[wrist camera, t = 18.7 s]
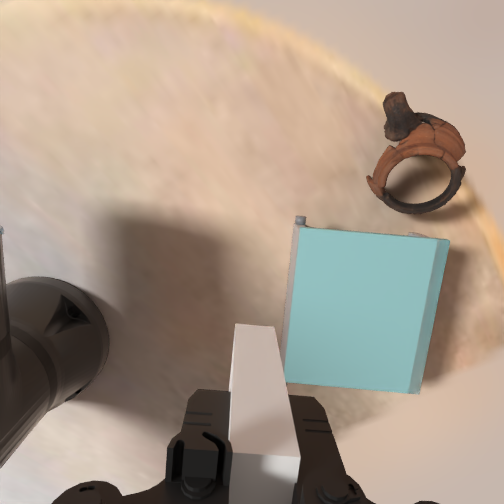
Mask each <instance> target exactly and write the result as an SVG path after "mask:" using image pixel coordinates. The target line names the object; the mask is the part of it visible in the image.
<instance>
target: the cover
mask: <svg viewBox="0 0 504 504" xmlns="http://www.w3.org/2000/svg"><path fill="white" fill-rule="evenodd" d="M449 244H450V240H447V239H439V238H427V237H416V236H404V235H392V234H381V233H369V232H357V231H346V230H334V229H322V228H311V227H300V230H299V239H298V248H297V257H296V266H295V275H294V284H293V293H292V302H291V311H290V320H289V329H288V338H287V347H286V356H285V365H284V377H285V382H289V383H300V384H311V385H321V386H332V387H343V388H354V389H365V390H376V391H387V392H398V393H409V394H419V393H420V388H421V383H422V378H423V373H424V368H425V363H426V358H427V353H428V348H429V343H430V339H431V334H432V329H433V324H434V319H435V314H436V309H437V304H438V299H439V294H440V289H441V284H442V279H443V274H444V269H445V264H446V259H447V254H448V249H449Z"/></svg>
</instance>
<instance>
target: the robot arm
mask: <svg viewBox="0 0 504 504" xmlns="http://www.w3.org/2000/svg"><path fill="white" fill-rule="evenodd" d="M2 234H4V230H3V227H1V226H0V468H1V467H2V466H3V465H4V464H5V462H6V461H7V460H8V459H9V457H10V456H11V455H12V454H13V453H14V451H15V450H16V449H17V448H18V446H19V445H20V444H21V443H22V442H23V440H24V439H25V438H26V437H27V435H28V434H29V433H30V432H31V431H32V429H33V428H34V427H35V426H36V425H37V423H38V422H39V421H40V420H41V419H42V417H43V416H44V415H45V414H46V413H47V412H48V411H50V410H52V409H54V408H56V407H58V406H59V405H61V404H63V403H64V402H66V401H68V400H70V399H72V398H74V397H76V396H77V395H79V394H80V393H82V392H83V391H84V390H85V389H86V388H87V387H88V386H89V385H90V384H91V383H92V382H93V380H94V379H95V378H96V376H97V375H98V374H99V372H100V371H101V369H102V368H103V366H104V364H105V361H106V359H107V355H108V350H109V335H108V330H107V326H106V323H105V321H104V318H103V316H102V314H101V313H100V311H99V309H98V308H97V307H96V305H95V304H94V303H93V302H92V301H91V300H90V299H89V298H88V297H87V296H86V295H85V294H84V293H83V292H81V291H80V290H79V289H77V288H75V287H74V286H72V285H70V284H68V283H66V282H63V281H60V280H57V279H53V278H48V277H26V278H22V279H18V280H15V281H12V282H10V283H8V284H6V280H5V268H4V257H3V245H2ZM52 504H375V503H373V502H371V501H370V500H368V499H367V498H366V496H365V494H364V493H363V491H362V489H361V487H360V486H359V484H357V482H355V481H354V480H353V479H352V478H351V477H350V476H348V475H347V474H346V471H345V468H344V465H343V462H342V460H341V456H340V454H339V451H338V448H337V445H336V442H335V439H334V436H333V434H332V430H331V427H330V424H329V423H328V418H327V415H326V413H325V410H324V408H323V407H322V405H321V404H320V403H319V402H318V401H317V400H316V399H315V398H314V397H308V396H295V395H288V392H287V387H286V382H285V377H284V372H283V367H282V362H281V357H280V352H279V347H278V342H277V337H276V332H275V327H271V326H259V325H248V324H236V323H235V333H234V343H233V353H232V363H231V373H230V383H229V391H216V390H204V389H198V390H197V391H196V392H195V393H194V394H193V395H192V396H191V397H190V398H189V400H188V405H187V409H186V414H185V417H184V421H183V426H182V430H181V432H180V433H179V434H177V435H176V436H175V437H174V438H172V440H171V442H170V443H169V445H168V447H167V460H166V475H165V479H164V480H163V481H162V482H160V483H159V484H158V485H156V486H154V487H152V488H151V489H149V490H145V491H142V492H139V493H135V494H130V495H126V496H122V494H121V493H120V491H119V490H118V488H117V487H115V486H114V485H112V484H110V483H108V482H103V481H89V482H84V483H80V484H78V485H76V486H74V487H72V488H70V489H68V490H66V491H65V492H63V493H62V494H61V495H60V496H59V497H58V498H57V499H55V500H54V501H53V503H52ZM415 504H439V503H436V502H433V501H419V502H417V503H415Z"/></svg>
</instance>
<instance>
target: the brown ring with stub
mask: <svg viewBox="0 0 504 504" xmlns="http://www.w3.org/2000/svg"><path fill="white" fill-rule="evenodd" d="M383 107H384V111H385V114H386V116H387V121H386V123H385V125H384V129H385V137H386V138H387V139H389V140H391V141H396V142H397V141H400V140H401V142H400V143H399V145H398V146H397V147H396V148H394V147H393V146H391V145H389V146H388V147H387V149H386V150H385V152H384V153H383V155H382V156H381V158H380V159H379V161H378V164H377V166H376V168H375V170H374V173H373V180H372V178H371V177H370V176H369V175H368V176H366V179H367V182H368V184H369V186H370V188H371V190H372V191H373V193H374V194H376V196H377V197H378V198H379V199H380V200H382V201H384V203H385V204H386V205H387V206H389V207H390V208H392V209H394V210H396V211H398V212H401V213H407V214H411V213H413V214H422V213H426V212H431V211H433V210H436V209H438V208H440V207H442V206H443V205H445V204H446V203H447V202H448V201H449V200H450V199H451V198H452V197H453V196H454V195H455V194H456V192H457V191H458V189H459V187H460V185H461V180H462V178H463V177H464V174H465V171H466V168H465V166H462V167H461V166H459V165H458V163H457V161H458V160H460V159H461V157H463V155H464V154H465V152H466V151H465V144H464V142H463V139H462V138H461V136H460V133H459V132H458V131H457V129H456V128H455V127H454V126H453V125H451V124H450V123H448V122H446V121H444V120H442V119H440V118H437V117H435V116H433V115H430V114H427V113H414V112H413V111H412V109H411V108H410V107H409V105H408V103H407V100H406V97H405V94H404V93H403V92H391V93H390V94H388V95H387V96H386V97H385V100H384V102H383ZM422 122H425V123H422ZM417 155H430V156H435V157H437V158H440V159H441V160H443V161H444V162H445V163H446V164H447V165H448V167H449V169H450V170H451V180H450V183H449V185H448V187H447V188H446V190H445V191H444V192H443V193H442V194H441V195H439V196H438V197H436V198H435V199H433V200H431V201H428V202H424V203H419V204H408V203H403V202H400V201H398V200H396V199H395V198H393V197H392V196H391V195H390V194H389V193H386V191H385V189H384V187H385V186H386V181H387V177H388V175H389V173H390V171H391V170H392V169H393V168H394V167H395V166H396V165H397V164H398V163H399V162H401V161H402V160H404V159H405V158H409V157H412V156H417Z"/></svg>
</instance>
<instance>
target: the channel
mask: <svg viewBox="0 0 504 504" xmlns="http://www.w3.org/2000/svg"><path fill="white" fill-rule="evenodd" d="M305 222H306V217H305V216H296V220H295V223H294V228H293V237H292V246H291V256H290V265H289V274H288V284H287V293H286V302H285V312H284V321H283V330H282V340H281V349H280V357H281V362H282V367H283V372H284V365H285V356H286V347H287V338H288V329H289V320H290V311H291V302H292V293H293V284H294V275H295V266H296V257H297V248H298V239H299V230H300V227H306V226H305ZM409 236H416V237H427V236H424V235H422V234H419V233H411V232H409ZM427 238H430V237H427ZM286 387H287V382H286Z"/></svg>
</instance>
